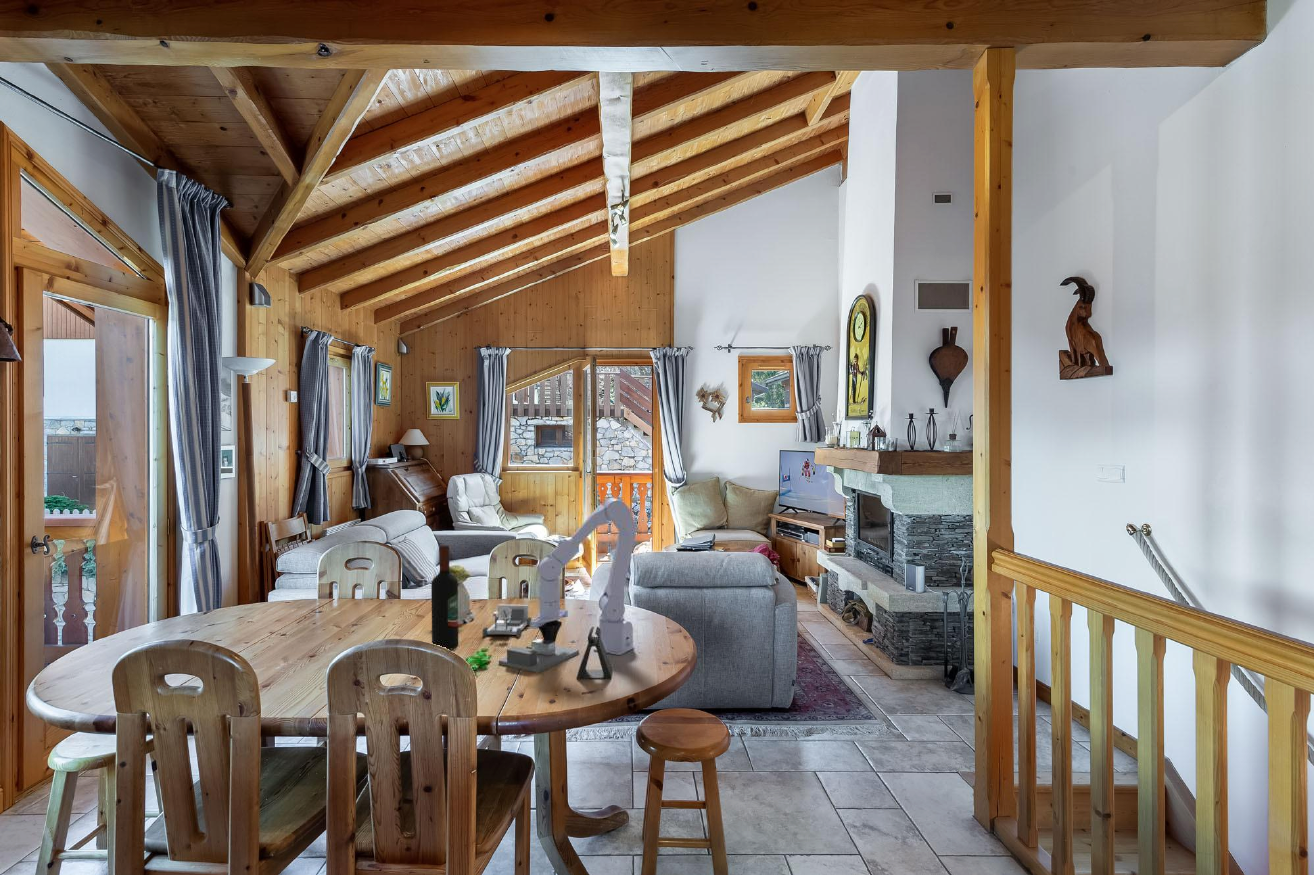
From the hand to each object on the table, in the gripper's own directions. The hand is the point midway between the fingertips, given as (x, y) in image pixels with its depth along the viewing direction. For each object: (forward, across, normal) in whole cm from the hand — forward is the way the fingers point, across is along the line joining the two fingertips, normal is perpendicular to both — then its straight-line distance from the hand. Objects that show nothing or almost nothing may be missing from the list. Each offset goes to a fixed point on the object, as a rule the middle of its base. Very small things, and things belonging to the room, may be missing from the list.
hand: (549, 647), depth 200 cm
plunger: (+1, +3, -2) cm, 3 cm away
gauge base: (+2, +4, 0) cm, 5 cm away
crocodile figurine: (+2, +20, -10) cm, 23 cm away
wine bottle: (+2, +10, -32) cm, 33 cm away
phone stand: (+2, +7, +21) cm, 22 cm away
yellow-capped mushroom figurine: (+2, -12, -51) cm, 53 cm away
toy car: (+3, -11, -26) cm, 29 cm away
